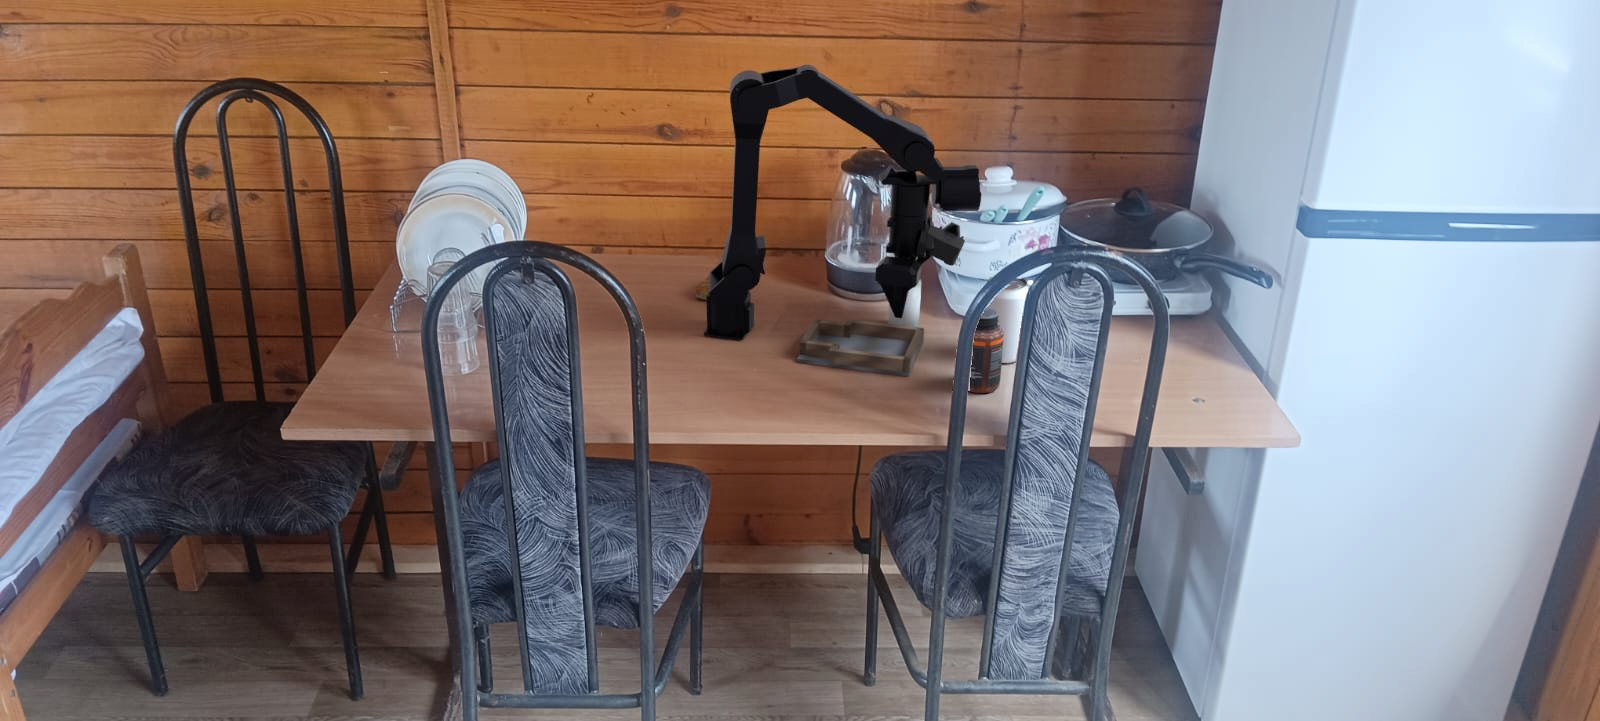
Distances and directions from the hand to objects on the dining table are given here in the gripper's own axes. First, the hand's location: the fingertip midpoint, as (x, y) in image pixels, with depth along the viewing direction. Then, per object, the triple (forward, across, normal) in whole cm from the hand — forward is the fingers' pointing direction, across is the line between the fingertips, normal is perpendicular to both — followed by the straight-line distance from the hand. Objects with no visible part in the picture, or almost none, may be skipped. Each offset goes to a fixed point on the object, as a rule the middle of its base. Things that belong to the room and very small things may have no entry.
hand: (904, 306), depth 180 cm
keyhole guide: (+4, -11, +4) cm, 12 cm away
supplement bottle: (+4, -17, -14) cm, 22 cm away
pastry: (+4, +6, +32) cm, 33 cm away
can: (+4, -6, -16) cm, 18 cm away
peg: (+4, 0, 0) cm, 4 cm away
